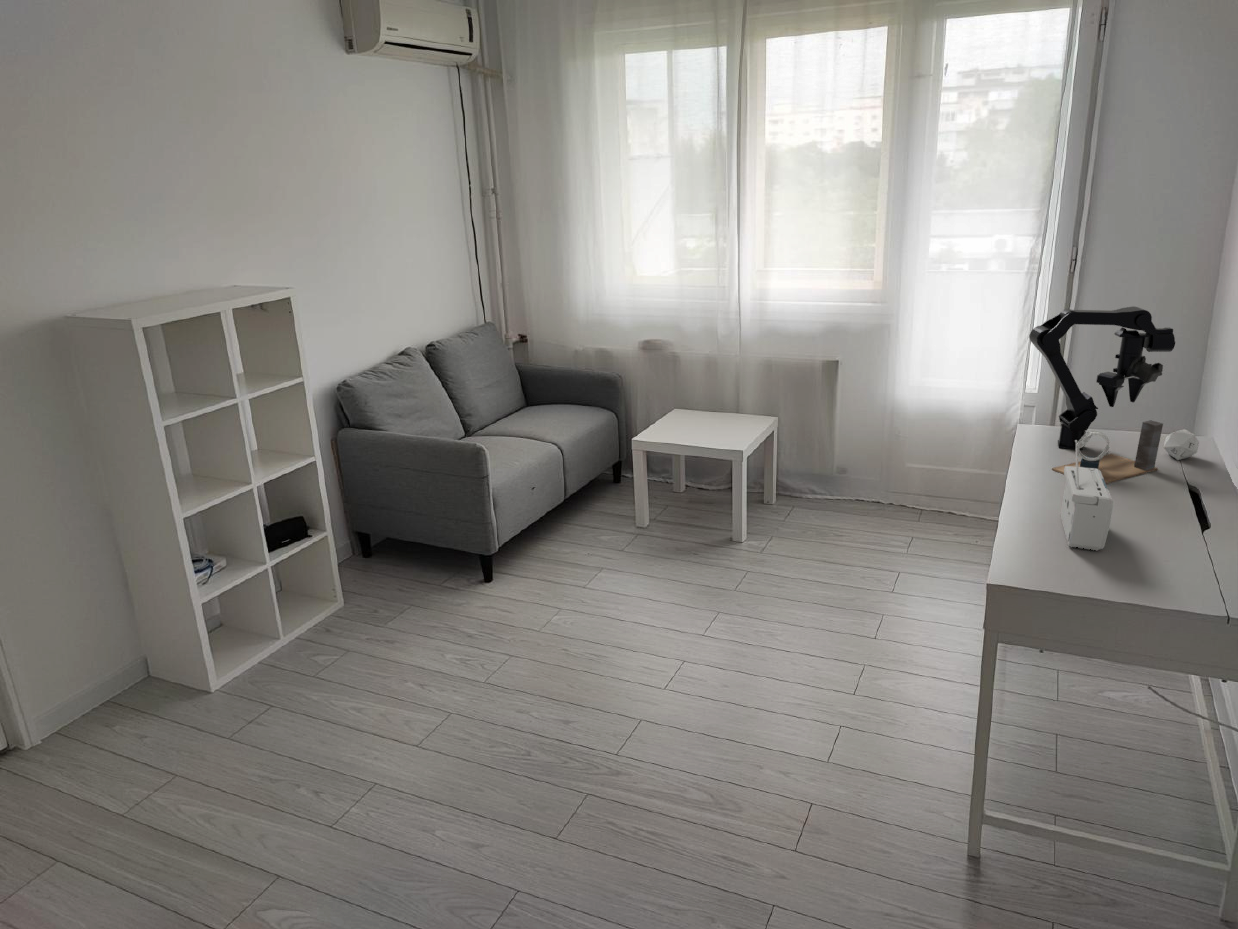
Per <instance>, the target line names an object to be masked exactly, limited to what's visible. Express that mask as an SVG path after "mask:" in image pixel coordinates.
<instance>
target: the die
mask: <svg viewBox="0 0 1238 929" xmlns="http://www.w3.org/2000/svg"><path fill="white" fill-rule="evenodd" d="M1199 445H1200V441H1199V439H1198V438H1197V437H1196V435H1195V434H1194V433H1192V432H1190V431H1189V430H1187V429H1185V428H1183V429H1180V430H1176V431H1173V432H1171V433H1170V434H1168V435H1167V436H1166V437H1165V440H1164V444H1163V446H1162V447H1163V448H1164V450H1165V452H1166V453H1167V454H1168V455H1169V456H1171V457H1172V458H1174V459H1175V460H1177V461H1180V460H1184V459H1188V458H1190V457H1192V456H1194V455H1195V454H1197V453H1198V450H1199Z"/></svg>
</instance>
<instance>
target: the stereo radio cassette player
mask: <svg viewBox="0 0 1238 929" xmlns="http://www.w3.org/2000/svg"><path fill="white" fill-rule="evenodd" d="M1075 443H1076V449H1075V462H1076V467H1074V466H1065V468H1064V474H1063V475H1064V478H1065V485H1064V491H1063V497H1062V503H1061V509H1060V518H1061V522H1062V526H1063V529H1064V530H1063V531H1064V534H1065V538H1066V542H1067V546H1068V547H1069V546H1072V547H1071V548H1076V547H1078V548H1077V549H1083V548H1084V549H1083V550H1090V549H1091V551H1094V550H1096V551H1099V550H1103V549H1104V547H1105V546H1106V541H1107V539H1108V534H1109V530H1110V525H1111V519H1112V515H1113V506H1114V505H1113V503H1114V502H1113V498H1112V496H1111V494H1110V491H1109V488H1108V487H1107V483H1105V481H1104V478H1103V476H1102V473H1101V471H1100V470H1098V469H1095V468H1084V467H1078V462H1079V460H1078V459H1079V457H1078V456H1079V454H1078V452H1077V440H1075Z"/></svg>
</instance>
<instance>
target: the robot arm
mask: <svg viewBox="0 0 1238 929" xmlns="http://www.w3.org/2000/svg"><path fill="white" fill-rule="evenodd" d="M1152 320H1153V316H1152V314H1151V313H1150V311H1148V310H1146V309H1143V308H1141V307H1139V306H1127V307H1121V308H1118V309H1112V310H1100V309H1095V310H1093V309H1069V308H1065V309H1063V310H1061V311H1060V312H1059V313H1057V314H1056V315H1054V316H1053V317H1050V318H1049V319H1047V320H1045V321H1044V322H1043V323H1042V324H1041V325H1037V326H1035V327H1034V328H1032V330H1030V333H1029V336H1028V338H1029V341H1030V342H1031V344H1032V345H1033V346H1034V347H1035V348H1036V350H1038V352H1039V353H1040V354H1041V355H1042V356H1043V357H1044V358H1045V360H1046V362H1047V364H1048V366H1049V368H1050V369H1051V371H1052V374H1053V376H1054V378H1055V379H1056V381H1057V382H1058V385H1059V386H1060V388H1061V391H1062V392H1063V395H1064V396H1065V405H1066V409H1065V410H1064V411H1063V412H1061V414H1059V415H1058V419H1059V422H1060V423H1061V425H1060V431H1059V436H1058V439H1057V447H1058V448H1059V449H1070V450H1076V443H1075V440H1077V443H1078V441H1079V440H1080V439H1081V438H1082V436H1083V435H1084V434H1086V433H1087V430H1088V429H1089V428H1090V426H1091V424H1092V423H1093V422H1095V420H1096V418H1097V417H1098V411H1097V410H1098V409H1099V408H1098V406H1096V404H1095V401H1094V398H1093V397H1092V396H1091V395H1089V394H1088V393H1086V392H1085V391H1083V392H1082V391H1081V390H1080V388H1079V385H1078V384H1077V382H1076V380H1075V378H1074V376H1073V374H1072V372H1071V370H1070V368H1069V366H1068V364H1067V363H1066V360H1065V358H1064V356H1063V354H1062V351H1061V348H1062V347H1061V343H1060V340H1061V339H1062V338H1063V337H1064V336H1065V335H1066V334H1067V333H1068V331H1069V330H1070V329H1071V327H1073V326H1074V325H1085V326H1087V325H1090V326H1116V327H1121V328H1120V329H1119V330H1117V331H1116V332H1114V335H1115V336H1116V337H1119V338H1121V342H1120V348H1119V352H1118V353H1116V354H1115V357H1114V358H1115V359H1118V360H1117V365H1116V367H1114V368H1113V369H1112V372H1111V371H1105V372H1100V373H1099V374H1097V376H1096V380H1095V381H1096V383H1098V386H1099V385H1100V386H1101V389H1102V391H1103V392H1104V394H1105V397H1106V400H1107V403H1108V406H1109V407H1110V408H1114V407H1115V404H1116V401H1117V397H1118V394H1119V391H1120V390H1121V389H1122V388H1123V387H1124V385H1123V384H1125V380H1127V381H1128V383H1127V384H1128V395H1129V401H1130V403H1135V402H1136V401H1137V399H1138V396H1139V395H1140V394H1141V391H1142V390H1143V388H1144V387H1145V386H1146V385H1147V384H1150V383H1152V382H1156V381H1157V379H1158V377H1161V376H1163V371H1164V370H1163V369H1164V365H1163V364H1162V363H1160V362H1157V363H1156V362H1155V363H1153V364H1152V363H1147V362H1146V359H1147V358H1146V355H1143V351H1144V349H1145V350H1146V351H1147V352H1148V353H1167V352H1168V353H1170V352H1172V351H1173V350H1174V348H1175V346H1176V341H1175V340H1176V338H1175V334H1174V329H1173V328H1172V327H1162V328H1161V327H1160V328H1159V327H1158V328H1157V327H1156V326H1155V325H1154V323H1153V321H1152ZM1128 329H1130V330H1128ZM1139 331H1142V332H1139ZM1085 445H1086V444H1085ZM1085 445H1084V446H1083V447H1085ZM1083 447H1082V448H1080V451H1082V450H1083V449H1084V448H1083Z"/></svg>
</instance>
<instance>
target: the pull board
mask: <svg viewBox="0 0 1238 929" xmlns="http://www.w3.org/2000/svg"><path fill="white" fill-rule="evenodd" d="M1141 424H1142V425H1141V429H1140V434H1139V440H1138V444H1137V449H1136V453H1135V454H1136V456H1135V460H1133V459H1130V458H1127V457H1123V456H1120V455H1117V454H1113V453H1108V454H1105V456H1104V457H1102V458H1101V459H1100V462H1099V468H1098V470H1100V471H1101V473H1102V476H1103V478H1104V481H1105V483H1106V484H1110V483H1113V482H1117V481H1121V480H1124V479H1128V478H1133V477H1135V476H1136V477H1137V476H1140V475H1142V474H1147V473H1146V472H1148V473H1151V472H1155V471H1158V469H1159V468H1158V467H1155V466H1156V461H1157V458H1158V457H1157V456H1158V453H1159V452H1158V451H1159V447H1160V446H1159V445H1160V443H1161V442H1160V441H1161V438H1162V437H1161V436H1162V431H1163V427H1164V422H1163V423H1162V422H1160V421H1159V422H1158V421H1156V420H1151V419H1150V420H1145V421H1142V423H1141ZM1080 463H1081V460H1078V467H1080ZM1065 466H1074V467H1076V461H1075V462H1073V463H1068V464H1064V465H1059V466H1055V467H1052V468H1051V471H1053V472H1057V473H1059V472H1060V474H1062V475H1064V468H1065Z"/></svg>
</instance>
